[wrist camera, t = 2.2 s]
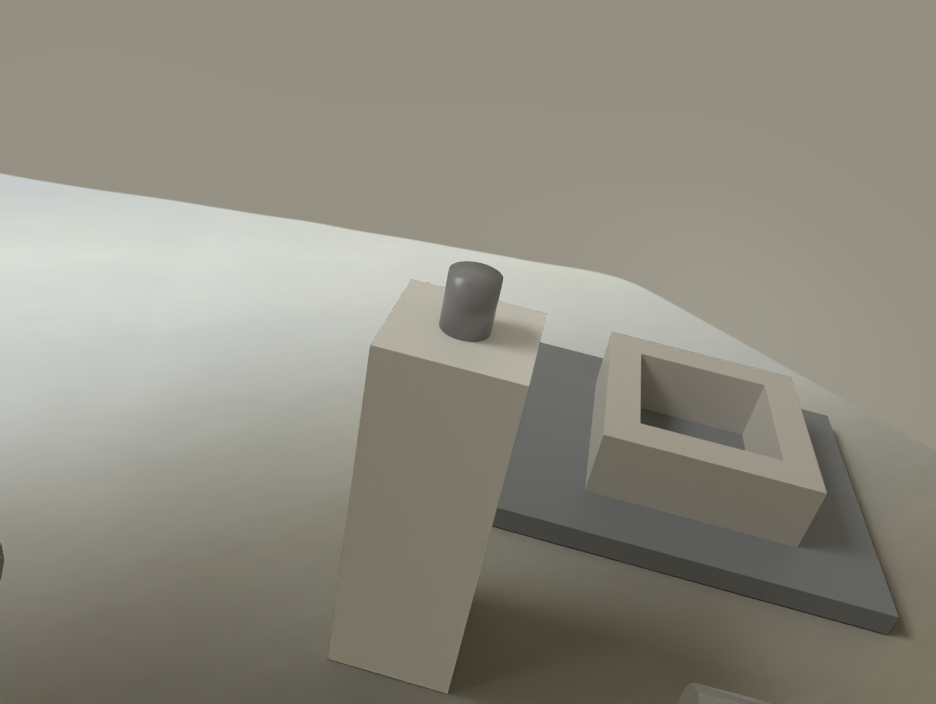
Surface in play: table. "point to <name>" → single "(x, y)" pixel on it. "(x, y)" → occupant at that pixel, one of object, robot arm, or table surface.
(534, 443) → the socket plate
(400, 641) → the plug block
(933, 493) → the table surface
